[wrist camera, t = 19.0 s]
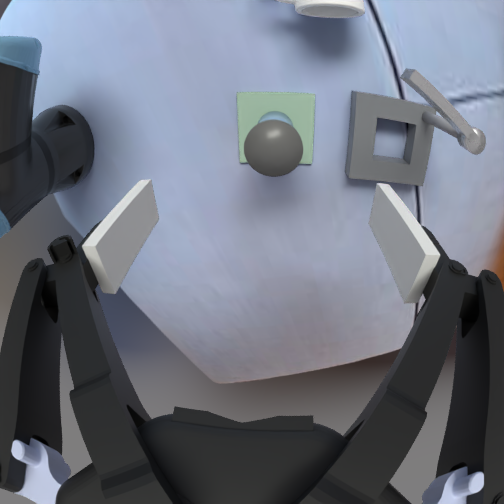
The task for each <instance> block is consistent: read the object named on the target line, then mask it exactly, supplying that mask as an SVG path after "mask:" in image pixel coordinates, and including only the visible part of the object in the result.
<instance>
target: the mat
mask: <svg viewBox="0 0 504 504" xmlns="http://www.w3.org/2000/svg"><path fill="white" fill-rule="evenodd" d="M314 108H315V94H309V93H289V92H242V93H237V109H238V132H239V153H240V163H244V162H247V160H246V158H245V154H244V142H245V139H246V137H247V135H248V133H249V131H250V130H251V129H252V128H253V127H254V126H255V125H256V124H258V121H259V119H260V118H261V117H262V116H263V115H264V114H266V113H268V112H271V111H279V112H282V113H284V114H286V115H287V116H288V117H289V118H290V119H291V121H292V123H293V127H294V128H295V129H296V130H297V132H298V133H299V135H300V137H301V140H302V143H303V156H302V159H301V161H300V163H301V164H312V154H313V134H314Z"/></svg>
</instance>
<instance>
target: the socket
mask: <svg viewBox="0 0 504 504" xmlns="http://www.w3.org/2000/svg"><path fill="white" fill-rule="evenodd" d="M377 117H378V118H384V119H390V120H395V121H400V122H406V123H409V124H408V132H407V139H406V145H405V152H404V158H403V159H400V158H393V157H385V156H378V155H373V151H374V143H375V134H376V125H377ZM434 126H435V127H437V128H439V129H441V130H443V131H444V132H446V133H448V134H450V135H452V136H454V137H456V138H457V132H456V130H455V129H454V128H453V127H452V126H451V125H450V124H449V123H448V122H447V121H446V120H445V119H444V118H442V117H440V116H438V115H436V110H435V109H434V108H433V107H430V106H427V105H423V104H419V103H415V102H411V101H407V100H402V99H398V98H393V97H388V96H383V95H377V94H371V93H365V92H358V91H352V96H351V113H350V127H349V138H348V149H347V159H346V168H345V172H346V174H347V176H348V177H349V178H352V179H364V180H375V181H384V182H394V183H402V184H410V185H418V186H423V183H424V179H425V174H426V169H427V165H428V160H429V155H430V149H431V144H432V138H433V131H434Z"/></svg>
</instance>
